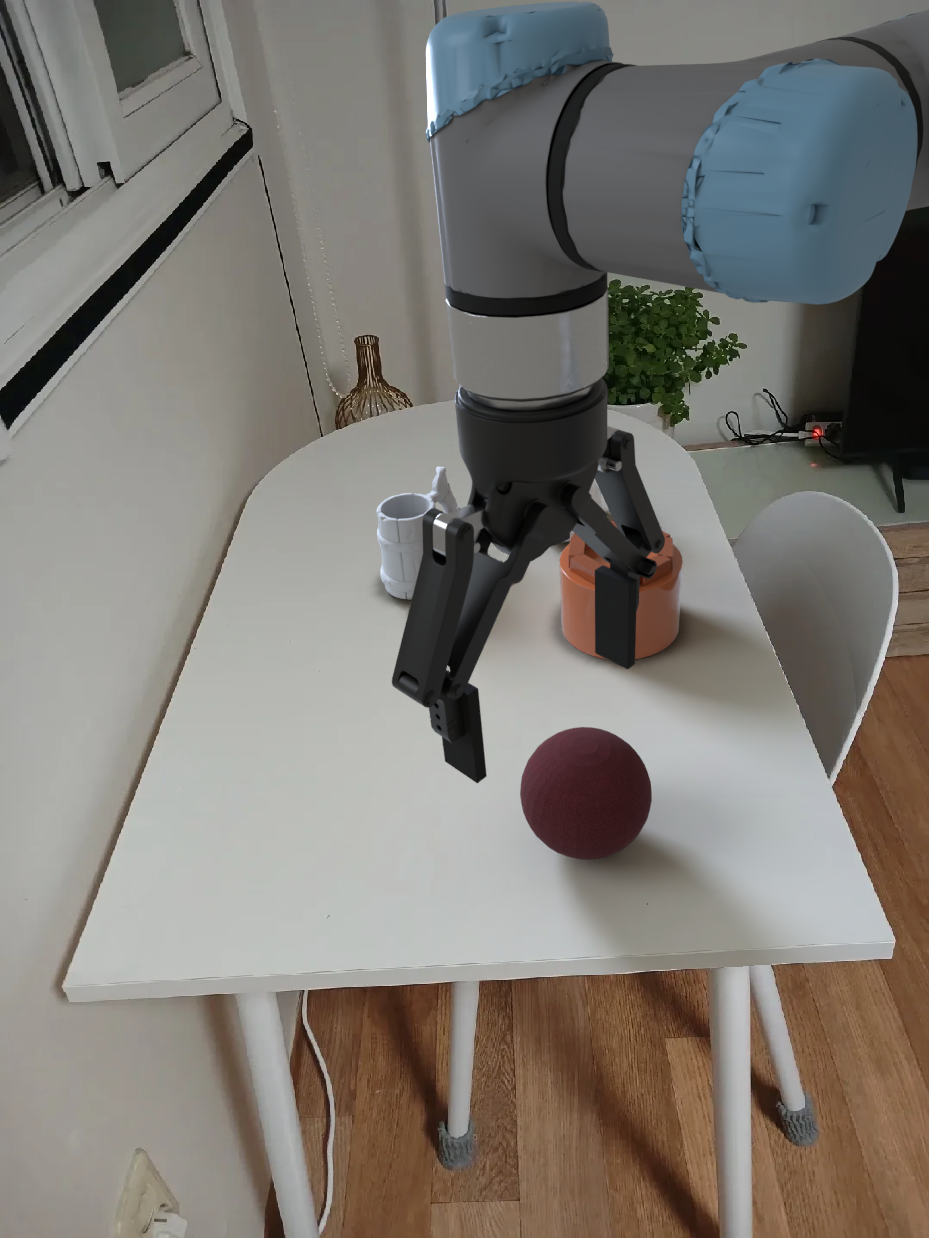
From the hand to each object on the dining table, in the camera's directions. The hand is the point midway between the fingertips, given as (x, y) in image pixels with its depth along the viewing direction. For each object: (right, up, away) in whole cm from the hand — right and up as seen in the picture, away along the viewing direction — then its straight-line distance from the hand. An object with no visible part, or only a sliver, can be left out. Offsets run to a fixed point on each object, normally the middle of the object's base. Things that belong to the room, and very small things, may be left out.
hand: (544, 710), depth 59 cm
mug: (-9, +11, +51) cm, 53 cm away
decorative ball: (+5, -12, +17) cm, 21 cm away
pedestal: (+11, +5, +40) cm, 42 cm away
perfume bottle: (+8, +16, +56) cm, 59 cm away
